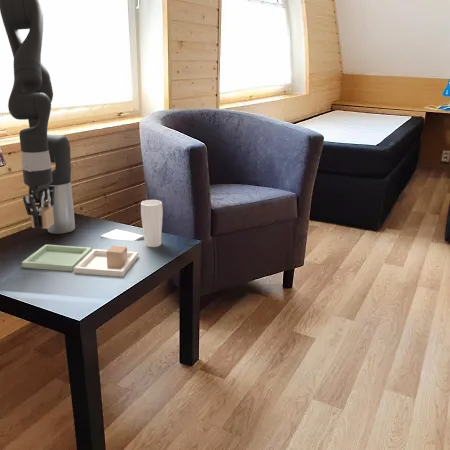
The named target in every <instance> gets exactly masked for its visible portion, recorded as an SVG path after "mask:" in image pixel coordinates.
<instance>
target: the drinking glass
mask: <svg viewBox="0 0 450 450" xmlns="http://www.w3.org/2000/svg"><path fill="white" fill-rule="evenodd" d="M163 208H164V207H163V202H162V201H161V200H158V199H145V200H142V201H141V203H140V217H141V218H140V219H141V224H142V225H141V226H142V232H143V236H144V239H143V241H144V246H145V247H148V248H157V247H160V246H161V245H162V230H163V218H164V217H163V213H164V212H163Z"/></svg>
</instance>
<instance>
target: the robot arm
mask: <svg viewBox="0 0 450 450" xmlns="http://www.w3.org/2000/svg"><path fill="white" fill-rule="evenodd" d="M0 16H1V19H2V24H3V26H4V29H5V33H6V36H7V38H8V40H7V41H8V42H9V46H10V49H11V52H12V53H11V54H12V56H13V85H12V89H11V92H10V95H9V98H8V103H7V107H8V113H9V114H10V115H11V116H12V118H14V119H16V120H19V121H21V120H23V121H25V120H28V121H27V122H28V127H27V128H23V129H21V130H20V131H19V143H20V144H19V145H20V152H21V154H20V156H21V157H20V161H21V168H22V170H21V171H22V177H23V183H24V185H25V186H27V187H28V195H25V196H24V195H23V197H22V200H23V204H24V207H25V210H26V214H27V216H30V215H33V220H34V227H35V229H43V228H42V227H43V224H42V215H41V210H42V207H53V217H54V224H53V225H51V226H50V227H48V228H47V232H48V233H50V234H55V235H56V234H57V235H58V234H66V233H67V234H68V233H70V232H73V231H74V230H75V229H76V224H75V223H76V222H75V220H76V219H75V211H74V201H73V190H72V189H73V188H72V178H71V176H72V162H71V161H72V160H71V159H72V157H71V143H70V141H69V139H68V137H67V136H66V135H62V134H48V127H49V126H48V125H49V119H50V115H51V110H52V103H53V102H52V101H53V99H54V91H53V85H52V82H51V81H52V80H51V76H50V73H49V71H48V69H47V68H46V66H45V65H44V64H43V63H42V60H41V59H42V46H43V33H44V12H43V7H42V3H41V1H40V0H0ZM19 30H29V31H28V33H27V34H26V37H25V38H24V40H23V38H22V35H21V34H20V31H19ZM52 163H53V164H55V168H54V169H53V170H52ZM36 207H38V211H37V208H36Z"/></svg>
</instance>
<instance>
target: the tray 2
mask: <svg viewBox="0 0 450 450" xmlns="http://www.w3.org/2000/svg"><path fill="white" fill-rule="evenodd" d="M107 250H108V249H98V248H95V249H94V248H92V251H91V252H90V253H89V254H88V255H87V256H86V257H85V258H84V259H83V260H82V261H81V262H80V263H79V264H78V265H77V266H75V267H74V270H73V272H74V274H86V275H99V276H111V277H123V278H124V276H125V275H126V274H127V272H128V271H129V270H130V268H131V267H132V266H133V265H134V263H135V262H136V261H137V259H138V258H139V251H130V250H129V251H128V250H127V259H128V261H127V262H126V264H125V265H124V266H123V267H122V268H121V269H117V268H107V254H106V251H107Z"/></svg>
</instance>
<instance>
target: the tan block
mask: <svg viewBox="0 0 450 450" xmlns="http://www.w3.org/2000/svg"><path fill="white" fill-rule="evenodd" d="M106 250H107V251H106V254H107V268H117V269H121V268H122V267H123V266H124V265H125V264H126V262H127V261H128V259H127V251H128V247H127V246H120V245H118V246H117V245H111V246H110V247H109V248H108V249H106Z"/></svg>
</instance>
